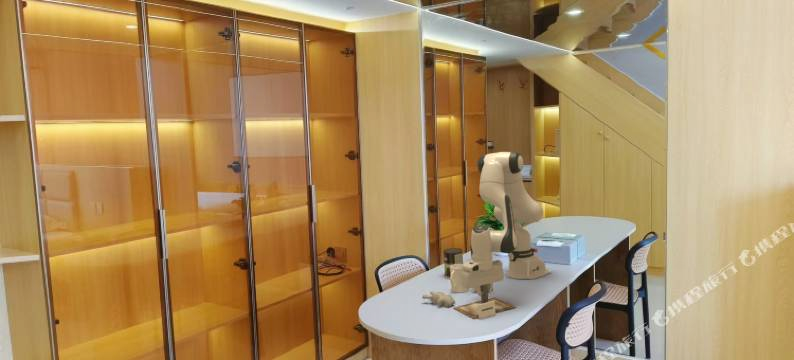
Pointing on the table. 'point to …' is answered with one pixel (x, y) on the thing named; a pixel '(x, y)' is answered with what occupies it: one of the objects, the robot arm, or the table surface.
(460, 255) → the coffee can
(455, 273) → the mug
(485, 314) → the word card
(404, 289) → the table surface
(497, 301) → the picture frame
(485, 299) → the marker
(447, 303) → the bunny figurine
